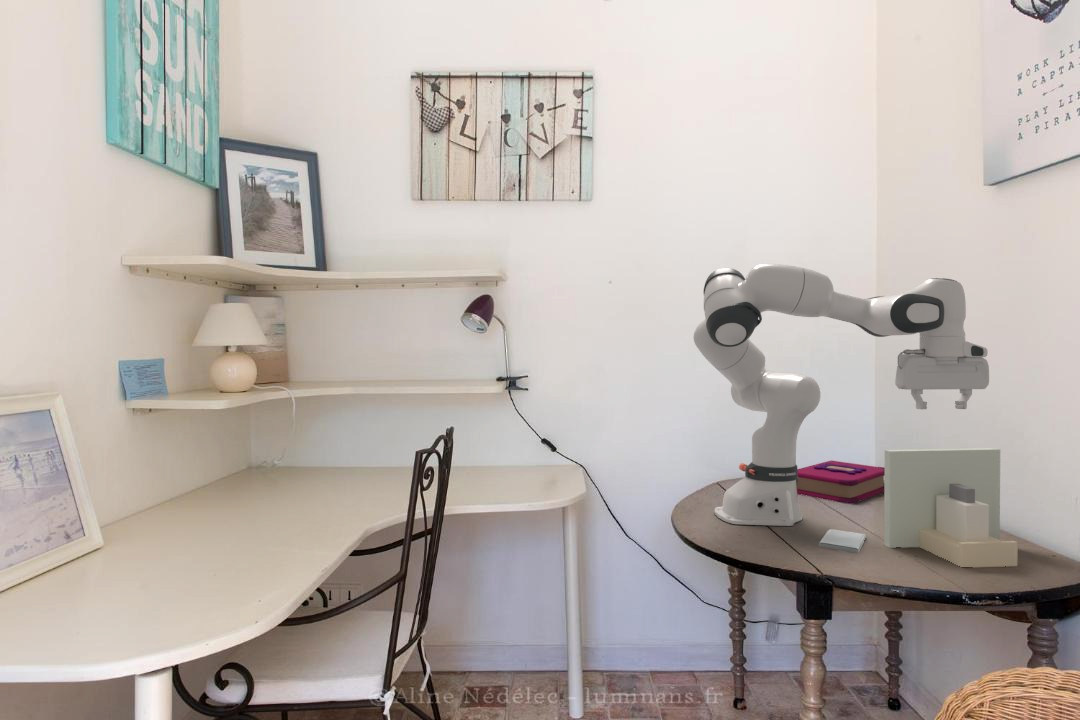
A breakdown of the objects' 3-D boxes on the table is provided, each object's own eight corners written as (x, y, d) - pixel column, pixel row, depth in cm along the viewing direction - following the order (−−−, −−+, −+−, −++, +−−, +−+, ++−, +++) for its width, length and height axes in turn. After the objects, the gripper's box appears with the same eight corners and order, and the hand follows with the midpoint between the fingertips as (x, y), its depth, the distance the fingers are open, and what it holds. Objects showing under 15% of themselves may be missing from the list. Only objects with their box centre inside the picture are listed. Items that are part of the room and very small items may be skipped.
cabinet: (965, 543, 129) (966, 491, 129) (936, 530, 138) (936, 481, 138) (988, 542, 130) (988, 490, 129) (957, 529, 139) (957, 481, 138)
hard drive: (858, 548, 136) (865, 533, 146) (818, 542, 140) (828, 528, 150) (858, 555, 136) (865, 540, 146) (818, 549, 140) (828, 534, 150)
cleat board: (928, 568, 126) (929, 462, 125) (884, 545, 141) (884, 449, 140) (1049, 565, 127) (1050, 460, 127) (992, 542, 142) (993, 447, 141)
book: (783, 492, 193) (783, 468, 193) (826, 479, 210) (826, 457, 210) (851, 505, 176) (851, 479, 176) (892, 490, 194) (892, 466, 194)
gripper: (906, 349, 137) (906, 410, 138) (994, 349, 138) (993, 410, 139) (889, 349, 144) (889, 407, 144) (973, 349, 144) (972, 407, 145)
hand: (941, 409), depth 141 cm, fingers open, 8 cm apart
